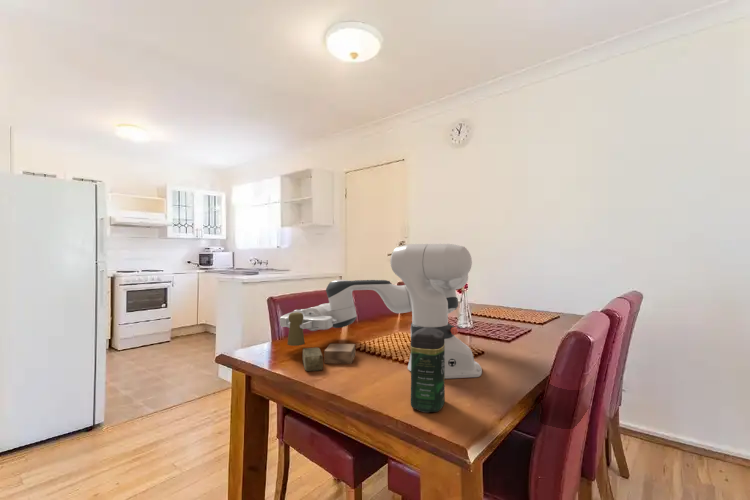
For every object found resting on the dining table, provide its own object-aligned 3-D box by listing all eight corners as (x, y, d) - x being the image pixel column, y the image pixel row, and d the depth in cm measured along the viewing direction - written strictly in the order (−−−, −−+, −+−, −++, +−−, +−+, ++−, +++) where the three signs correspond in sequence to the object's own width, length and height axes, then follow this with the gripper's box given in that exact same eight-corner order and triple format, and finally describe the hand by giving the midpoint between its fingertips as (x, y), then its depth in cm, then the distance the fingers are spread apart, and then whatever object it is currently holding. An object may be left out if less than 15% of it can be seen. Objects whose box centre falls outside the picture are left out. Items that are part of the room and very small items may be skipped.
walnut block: (355, 355, 131) (355, 344, 131) (351, 363, 122) (351, 351, 122) (330, 354, 132) (330, 343, 132) (324, 363, 123) (324, 351, 123)
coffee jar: (441, 416, 85) (440, 335, 84) (407, 411, 87) (406, 332, 87) (447, 399, 94) (447, 325, 93) (417, 395, 96) (416, 323, 96)
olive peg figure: (308, 342, 133) (308, 312, 133) (296, 346, 128) (296, 314, 128) (295, 340, 136) (295, 310, 136) (283, 344, 131) (283, 313, 131)
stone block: (305, 373, 114) (304, 357, 114) (302, 362, 125) (301, 347, 125) (324, 371, 116) (323, 355, 116) (319, 360, 127) (319, 345, 127)
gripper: (339, 328, 141) (321, 337, 128) (292, 325, 148) (271, 333, 135) (338, 311, 141) (321, 318, 128) (292, 309, 147) (270, 315, 134)
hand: (295, 326), depth 131 cm, fingers closed on olive peg figure, 3 cm apart
